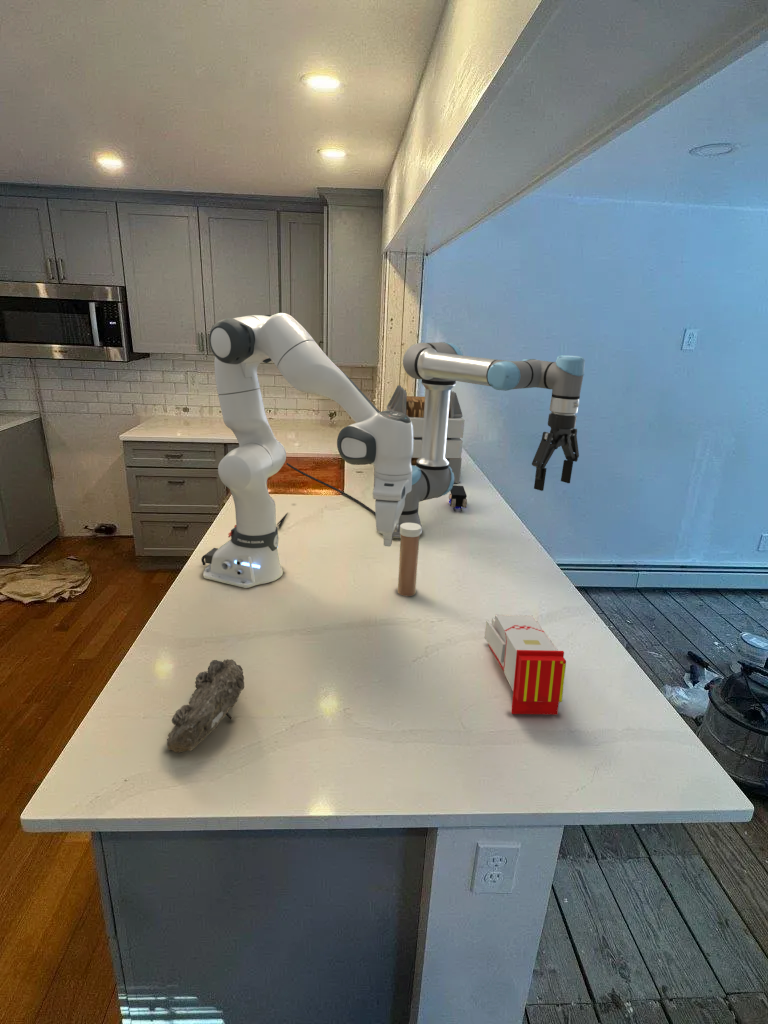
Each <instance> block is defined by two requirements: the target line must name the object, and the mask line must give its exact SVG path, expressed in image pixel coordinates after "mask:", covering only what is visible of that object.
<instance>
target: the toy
mask: <svg viewBox="0 0 768 1024" xmlns="http://www.w3.org/2000/svg"><path fill="white" fill-rule="evenodd" d="M494 615H495V616H494V617H491V622H490V620H485V621H486V622H485V630H484V640H485V641H486V642H487V646H488V647H489V649H490V651H491V652H492V654H493V656H494V657H495V659H496V661H497V663H498V665H499V667H500V668H501V670H502V671H503V674H504V676H505V678H506V680H507V682H508V684H509V686H510V689H511V690H512V701H511V712H510V713H511V714H512V715H556V716H558V715H559V714H558V713H559V705H560V703H562V702H563V695H564V694H563V693H564V686H565V685H564V683H565V677H566V676H565V675H566V667H567V666H566V665H567V660H566V658H564V656H565V651H564V650H559V649H558V648H557V646H556V645H555V644H554V642H553V641H552V640H551V638H550V637H549V636H548V634H547V633H546V631H544V629H543V628H542V626H541V625H540V623H539V622H538V620H536V618H535V617H534V615H531V614H530V615H527V614H526V615H523V614H519V615H518V614H494Z"/></svg>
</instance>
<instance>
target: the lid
mask: <svg viewBox="0 0 768 1024" xmlns="http://www.w3.org/2000/svg"><path fill="white" fill-rule="evenodd" d="M400 534H401V535H403V536H406V537H417V536H419V535H420V534H421V526H420V525H419V524H416V523H403V524H401V525H400Z"/></svg>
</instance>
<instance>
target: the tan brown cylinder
mask: <svg viewBox="0 0 768 1024" xmlns="http://www.w3.org/2000/svg"><path fill="white" fill-rule="evenodd" d="M399 543H400V544H399V559H398V574H397V575H398V577H397V593H398V594H399V595H400V596H403V597H411V596H415V594H416V591H417V578H418V563H419V551H420V548H419V546H420V537H419V536H417V537H406V536H403V535H401V540H399Z"/></svg>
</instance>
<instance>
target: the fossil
mask: <svg viewBox="0 0 768 1024" xmlns="http://www.w3.org/2000/svg"><path fill="white" fill-rule="evenodd" d="M243 670H244V669H243V667H242V665H240V664H237V662H236V661H235V660H234V659H232V658H231V659H227V658H226V659H224V660H223V661H222V660H217V659H212V660H211V661H210V663H209V665H208V666H207V671H201V672H199V673H198V674H197V675H196V676H195V680H194V684H195V685H194V687H195V689H194V690H193V693H192V694H191V697H190V698H189V700H188V704H184V705H182V706H181V707H180V709H177V710H176V711H175V713H174V715H173V716H172V718H171V723H172V724H173V727H172V730H171V731H170V732H168V734H167V738H166V741H167V742H166V745H167V749H168V750H169V751H173V752H174V753H176V754H178V753H182V752H188V751H189V752H192V751H193V750H195V748H196V747H197V746H199V744H200V743H201V742H203V741H204V740H205V739H206V738H207V737H208V736H209V735H210V734H211V733H212V732H214V730H215V729H217V727H218V726H219V724H220V722H221V721H222V720H223V719H224V718H225V716H226V717H227V719H229V720H233V717H232V715H230V714H229V710H230V709H231V708H234V706H235V704H236V703H237V702H238V699H239V697H240V695H241V693H242V691H243V690H245V689H244V688H245V675H244V671H243Z"/></svg>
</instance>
